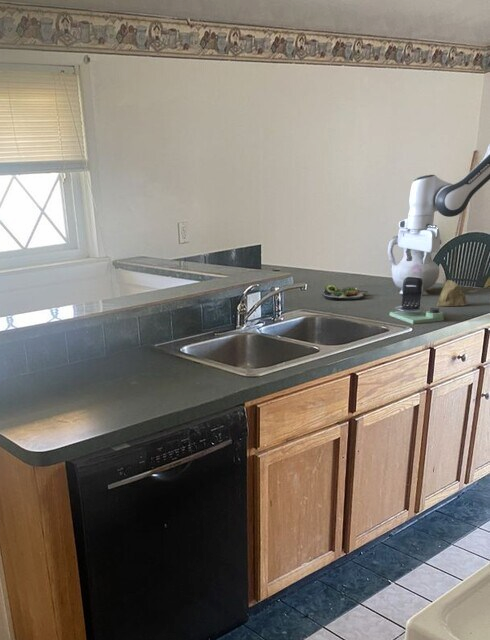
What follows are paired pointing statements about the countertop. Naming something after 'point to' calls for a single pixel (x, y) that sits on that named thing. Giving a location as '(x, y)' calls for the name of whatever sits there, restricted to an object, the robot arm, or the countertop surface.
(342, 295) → the salad plate
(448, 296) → the rock
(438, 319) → the scale
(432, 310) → the tare button
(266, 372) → the countertop surface
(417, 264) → the ceramic pitcher
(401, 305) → the scale pan
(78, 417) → the countertop surface
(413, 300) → the battery charger
